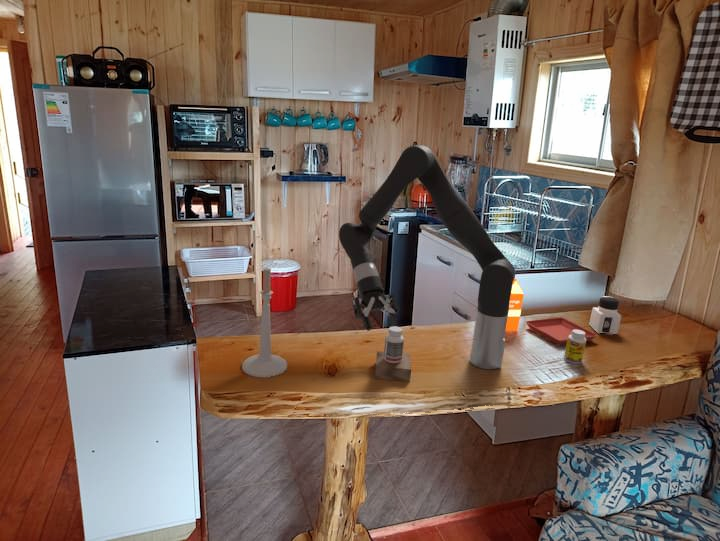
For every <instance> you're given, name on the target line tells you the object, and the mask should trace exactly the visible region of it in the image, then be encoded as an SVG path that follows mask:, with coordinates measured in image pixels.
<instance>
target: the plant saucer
mask: <svg viewBox="0 0 720 541" xmlns="http://www.w3.org/2000/svg"><path fill="white" fill-rule="evenodd" d="M525 324H526V326H527V327H528V328H529V330H531V331H532V330H533V331H532V332H534V333H536V334H537V333H538V334H537V335H539V334H540V335H539V336H541V337H543V338H545V339H546V340H548V341H550V342H552V344H555V345H556V346H564V345H567V340H568V336H569V335H571V334H572V330H575V329H577V330H581V331H584V332H585V338H586V341H588V342H590V341H593V339H595V338H596V337H598V333H597V334H596V333H594V332H592V331H591V330H588V329H586V328H584V327H582V326H580V325H579V324H577V323H574V322H573V321H570V320H568V319H567V318H565V317H561V316H560V317H552V318H550V317H549V318H542V319H534V320H526V321H525Z"/></svg>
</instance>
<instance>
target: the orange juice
mask: <svg viewBox="0 0 720 541" xmlns="http://www.w3.org/2000/svg"><path fill="white" fill-rule="evenodd" d="M524 295H525V293H524V291H523V290H522V288H521V286H520V283H519V281H518V279H517V278H514V281H513V284H512V290H511V296H510V303H509V312H508V318H507V324H506V330H505V331H517V332H518V330H519V324H520V317H521V313H522V306H523V302H524V301H523V300H524Z"/></svg>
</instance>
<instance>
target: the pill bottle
mask: <svg viewBox="0 0 720 541" xmlns="http://www.w3.org/2000/svg"><path fill="white" fill-rule="evenodd" d="M404 343H405V337H404V336H403V328H402V327H400V326H397V325H396V326H392V327H391V326H390V327H389V328H388V333H387V334H386V335H385V339H384V348H383V350H384V360H385V361H387V362H389V363H399V362H401V361H402V354H403V353H404V352H403V351H404V345H405V344H404Z"/></svg>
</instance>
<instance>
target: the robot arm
mask: <svg viewBox="0 0 720 541" xmlns="http://www.w3.org/2000/svg"><path fill="white" fill-rule="evenodd" d="M417 179H418V181H419V182H420V183H421V184H422V185H423V187H424V188H425V190H426V191H427V193H428V194H429V196H430V199H431V201H432V204H433V207H434V208H435V211H436V213H437V216H438V217H439V220H440V221H441V222H442V224H443V225H444V227H445V229H447V231H448V232H449V234H450V235H451V236H452V237H453V238H454V239H455V240H456V241H457V242H458V243H459V244H460V245H462V246H463V247H464V248H466V250H467V251H468V252H470V254H471V255H472V256H473V257H474V259H475V261H476V262H477V263H478V266H479V267H480V269H481V271H482V272H481V275H480V279H479V280H480V281H479V287H478V294H477V295H478V296H477V308H476V309H477V310H476V317H475V322H474V329H473V336H472V343H471V349H470V355H469V362H470V363H471V364H472V365H473V366H475V367H477V368H479V369H483V370H496V369H502V364H503V358H504V352H505V346H506V342H507V341H506V337H505V335H506V332H505V330H506V324H507V318H508V312H509V303H510V296H511V290H512V284H513V281H514V278H515V277H516V270H515V267H514V266H513V264H512V262H511V261H510V260H509V258H507V257H506V256H505V254H503V252H502V251H501V250H500V249H499V248H498V246H496V245H495V243H494V242H493V240H492V239H491V237H490V236H489V233H488V232H487V231H486V229H485V228H484V226H483V224H482V223H481V221H480V220H479V218H478V216H476V213H475V212H474V211H473V209H472V208H471V206H470V205H469V204H468V203H467V201H466V200H465V199H464V197H463V195H461V193H460V192H459V191H458V190H457V188H456V187H455V186H454V185H453V183H452V182H451V181H450V180H449V178H448V177H447V175H446V174H445V172H444V170H443V168H442V167H441V165H440V163H439V162H438V159H437V158H436V155H435V153H434V152H433V150H431V149H430V148H429V147H428V146H426V145H423V144H414V145H410V146H409V147H408V146H407V147H406V148H405V149H404V150H403V151H402V153H401V155H400V156H399V157H398V160H397V161H396V164H395V165H394V166H393V168H392V170H391V171H390V173H389V174H388V176H387V177H386V179H385V180H384V182H383V183H382V184H381V186H379V188H378V189H377V191H376V192H375V193H374V194H373V195H372V196H371V198H370V199H369V200H368V201H367V202H366V204H365V205H364V206H363V207H362V209H361V210H360V211H359V213H358V219H359V220H360V221H361V222H360V224H359V225H358V224H355V223H352V222H345V223H343V224H342V225H341V226H340V227H339V231H338V238H339V242H340V245H341V246H342V248H343V250H344V252H345V253H346V255H347V256H348V258H349V260H350V263H351V264H350V265H351V267H352V271H353V275H354V280H355V284H356V287H357V291H358V294H359V297H360V298H359V297H357V296H355V297H354V299H352V301H351V303H352V307H353V313H354V317H355V319H361V320H362V324H363V327H364V329H365V330H366V331H368V332H370V331H371V330H372V329H373V327H372V323H371V320H370V317H369V314H370V312H375V311H377V312H379V311H381V312H383V313H385V314H386V315H387V316H388V320H389V324H390V325H391V326H390V327H392V326H397V325H398V319H397V316H396V314H398V312H400V308H399V304H398V302H397V298H396V296H395V294H394V293H390V295H389V294H388V295H386V294H385V293H384V288H383V285H382V282H381V281H382V280H381V278H380V274H379V271H378V269H377V267H376V264H375V261H374V258H373V254H372V253H371V252H372V251H370V249H369V248H367V247H365V246H366V245H368V244H369V242H371V239H372V237H373V235H374V233H375V232H376V230H377V226H378V225H379V224H380V223H381V221H383V219H384V218H385V217H386V215H387V214H388V213H389V212H390V210H391V209H392V208H393V206H394V205H395V203H396V201H397V200H398V198H399V197H400V195H401V194H402V193H403V192H404V190H405V189H406V188H407V187H409V186H410V184H412V182H414V181H415V180H417ZM515 279H516V278H515ZM361 304H362V305H363V306H364V309H363V311H362V308H361Z"/></svg>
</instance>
